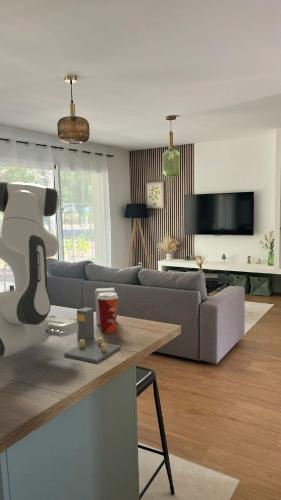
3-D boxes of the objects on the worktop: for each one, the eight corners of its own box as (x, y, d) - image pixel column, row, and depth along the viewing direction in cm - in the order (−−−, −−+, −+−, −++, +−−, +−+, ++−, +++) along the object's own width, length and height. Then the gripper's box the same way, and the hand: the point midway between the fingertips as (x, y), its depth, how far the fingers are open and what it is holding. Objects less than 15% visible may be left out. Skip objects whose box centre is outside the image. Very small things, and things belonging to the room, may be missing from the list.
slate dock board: (64, 356, 120) (63, 345, 120) (89, 342, 132) (89, 333, 132) (97, 363, 114) (96, 352, 113) (120, 348, 126) (120, 338, 126)
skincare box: (116, 320, 160) (116, 287, 159) (115, 324, 154) (114, 290, 153) (97, 320, 160) (96, 287, 159) (95, 324, 154) (94, 290, 153)
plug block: (76, 339, 136) (75, 310, 135) (85, 335, 141) (84, 307, 140) (85, 341, 134) (84, 311, 133) (94, 336, 139) (93, 308, 138)
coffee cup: (115, 334, 141) (114, 296, 140) (95, 333, 143) (94, 295, 141) (121, 328, 149) (120, 292, 148) (101, 327, 151) (101, 291, 150)
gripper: (61, 323, 109) (88, 313, 121) (11, 316, 118) (41, 307, 130) (62, 344, 109) (89, 331, 121) (12, 335, 119) (42, 324, 131)
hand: (64, 319), depth 126 cm, fingers open, 8 cm apart
